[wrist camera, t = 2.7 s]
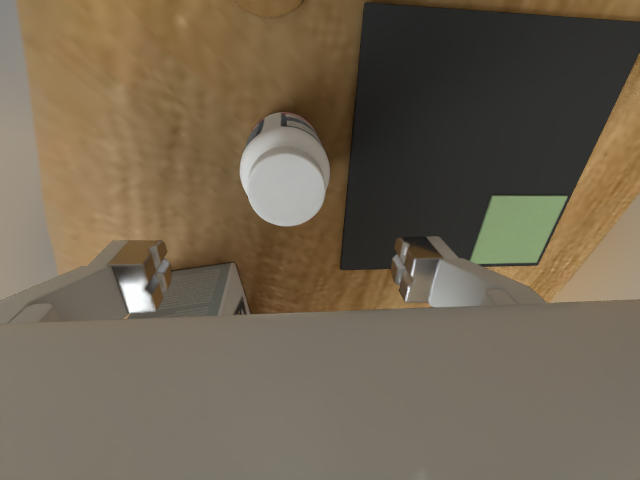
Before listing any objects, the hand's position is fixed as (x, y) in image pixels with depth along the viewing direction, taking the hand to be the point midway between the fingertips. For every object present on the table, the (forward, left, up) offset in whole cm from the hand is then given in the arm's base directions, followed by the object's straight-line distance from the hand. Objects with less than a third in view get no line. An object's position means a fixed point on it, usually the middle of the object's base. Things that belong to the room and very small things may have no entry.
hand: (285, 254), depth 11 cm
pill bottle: (0, 0, -14) cm, 14 cm away
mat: (+1, +15, -14) cm, 21 cm away
